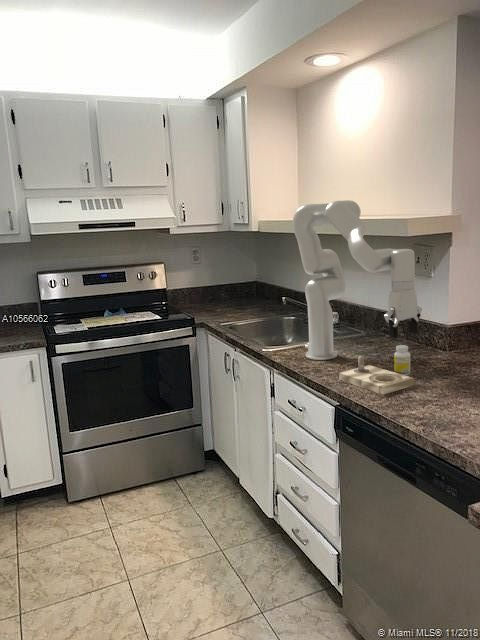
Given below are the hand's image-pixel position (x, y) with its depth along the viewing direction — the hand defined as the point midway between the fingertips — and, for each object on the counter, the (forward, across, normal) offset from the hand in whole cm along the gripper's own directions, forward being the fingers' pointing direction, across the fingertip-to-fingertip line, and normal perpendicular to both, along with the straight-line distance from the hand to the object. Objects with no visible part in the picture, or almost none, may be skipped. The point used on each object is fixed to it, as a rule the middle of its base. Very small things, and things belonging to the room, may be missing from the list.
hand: (403, 335), depth 178 cm
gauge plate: (+14, +14, 0) cm, 20 cm away
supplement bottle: (+14, 0, -1) cm, 14 cm away
